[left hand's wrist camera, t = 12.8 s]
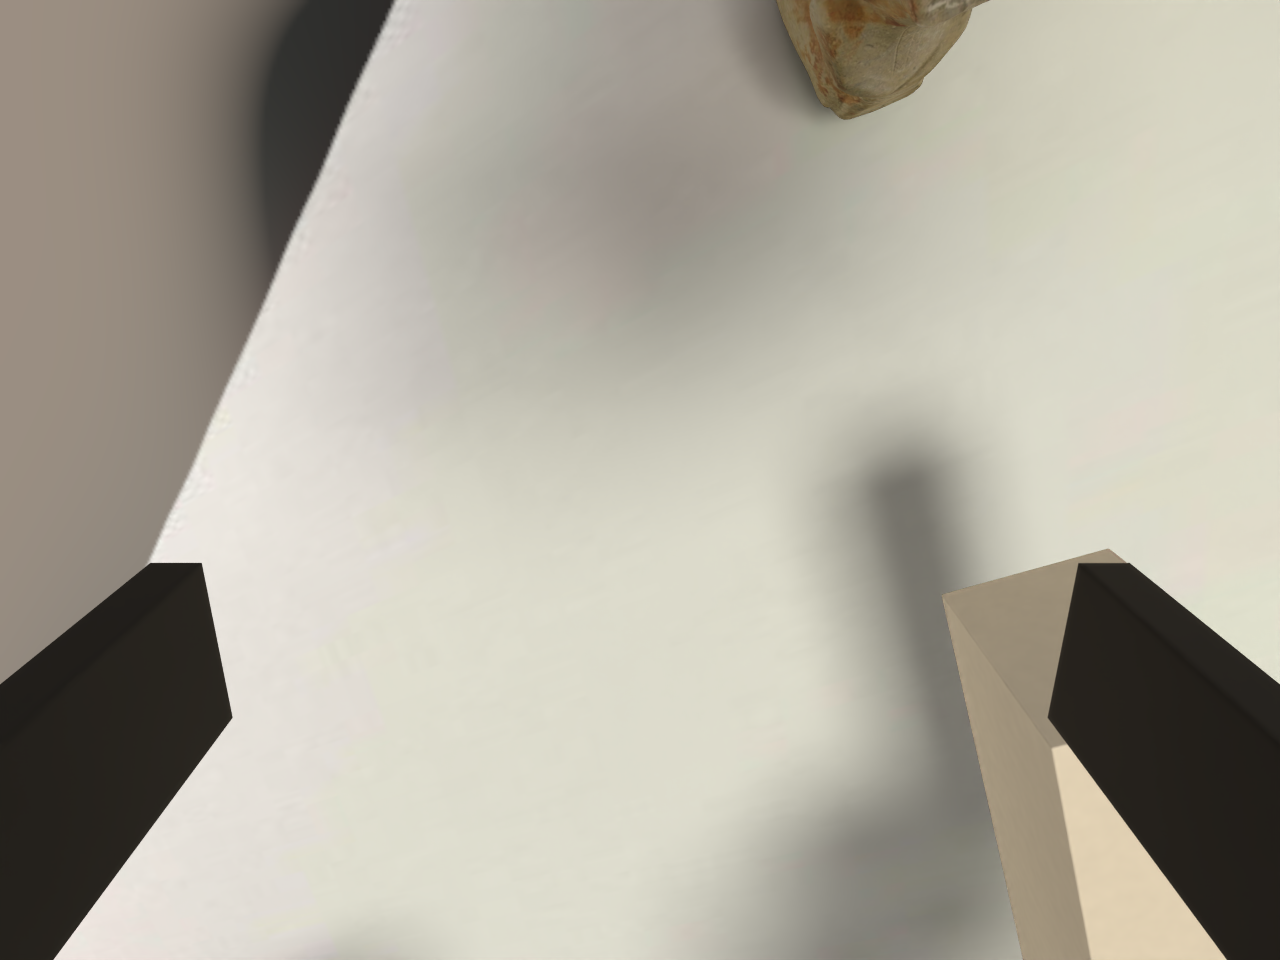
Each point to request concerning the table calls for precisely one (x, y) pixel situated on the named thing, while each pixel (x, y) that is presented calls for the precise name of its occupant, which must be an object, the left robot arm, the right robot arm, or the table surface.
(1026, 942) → the bar
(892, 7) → the sculpture
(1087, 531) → the table surface
